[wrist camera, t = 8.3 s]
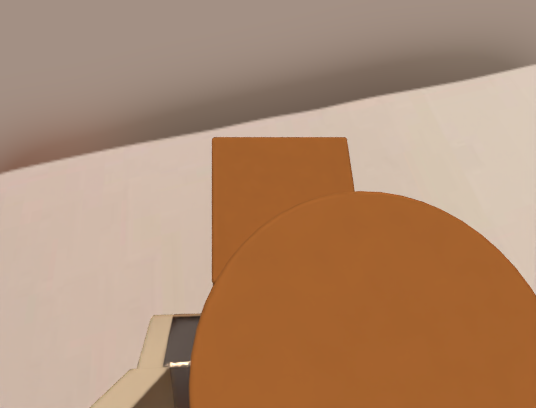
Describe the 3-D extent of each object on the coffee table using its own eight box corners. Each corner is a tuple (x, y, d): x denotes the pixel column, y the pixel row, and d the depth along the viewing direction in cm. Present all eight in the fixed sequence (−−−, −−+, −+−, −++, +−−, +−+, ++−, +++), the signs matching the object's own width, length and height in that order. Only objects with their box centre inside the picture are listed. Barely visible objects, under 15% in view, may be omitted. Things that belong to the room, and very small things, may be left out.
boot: (215, 423, 13) (156, 717, 3) (215, 178, 17) (186, -74, 6) (346, 412, 14) (675, 631, 4) (319, 177, 17) (446, -59, 7)
